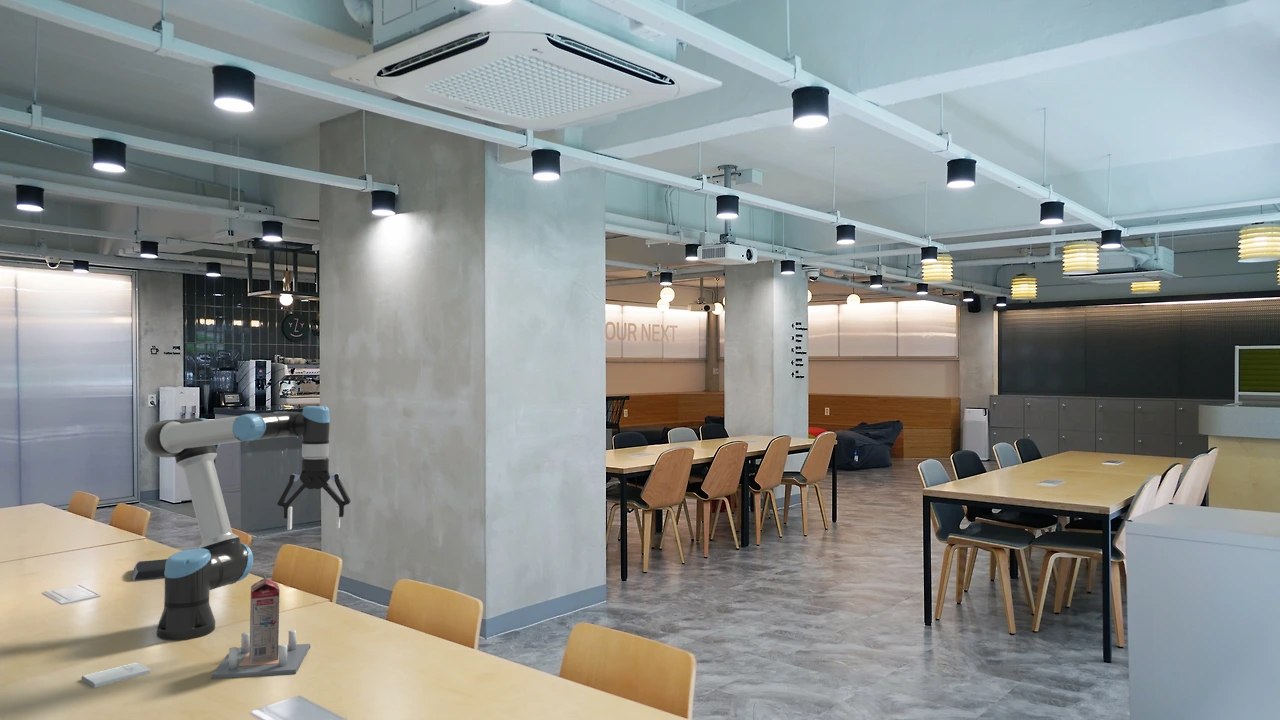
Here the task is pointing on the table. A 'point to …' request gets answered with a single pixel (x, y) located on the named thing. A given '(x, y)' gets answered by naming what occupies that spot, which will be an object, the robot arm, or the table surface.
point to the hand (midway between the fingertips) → (313, 528)
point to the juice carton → (264, 621)
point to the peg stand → (241, 667)
